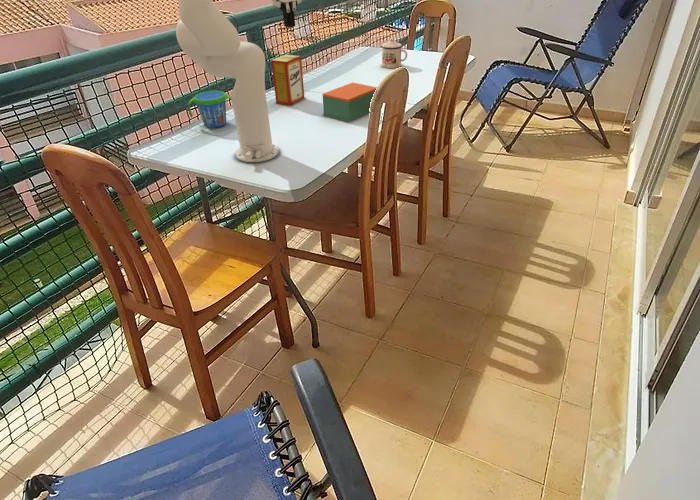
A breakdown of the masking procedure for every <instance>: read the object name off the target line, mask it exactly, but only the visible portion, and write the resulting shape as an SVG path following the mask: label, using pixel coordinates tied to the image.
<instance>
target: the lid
mask: <svg viewBox="0 0 700 500" xmlns="http://www.w3.org/2000/svg"><path fill="white" fill-rule="evenodd" d="M377 87H378V86H377ZM377 87H376V86H372V85H367V84H363V83H358V82H350V83H347V84H344V85H341V86H339V87H337V88H334V89H331V90H328V91H326V92H324V93H322V97H323V96H325V97H329V98H334V99H338V100H342V101H347V102H349V101H352V100H354V99H356V98H359V97H361V96H364V95H366V94H369V93H371V92H373V91H375V90H376V88H377ZM376 91H377V90H376Z"/></svg>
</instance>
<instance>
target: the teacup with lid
mask: <svg viewBox="0 0 700 500" xmlns="http://www.w3.org/2000/svg"><path fill="white" fill-rule="evenodd" d="M402 47H403V45H402V43H400V42H398V41H396V40H395V39H394V38H392V37H391V38H389V40H388V41H386V42H384V43H382V44H381V66H382V67H384V68H385V69H395V68H399V67H401V65H402V62H405V61H406V60H407V58H408V52H407V50H405V49H402ZM402 52H403V53H404V55H405V57H404V58H403V59H402Z"/></svg>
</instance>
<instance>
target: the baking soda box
mask: <svg viewBox="0 0 700 500" xmlns="http://www.w3.org/2000/svg"><path fill="white" fill-rule="evenodd" d="M270 63H271V69H272V78H273V88H274V96H275V103H276V104H279V105H285V106H292V105H294V104H296V103H299V102H300V101H302V100H304V99H305V89H304V87H305V86H304V77H303V76H304V75H303V63H302V56H301V55H295V54H283V55H281V56H278V57H276V58H273V59H271V62H270Z"/></svg>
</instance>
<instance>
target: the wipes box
mask: <svg viewBox="0 0 700 500" xmlns="http://www.w3.org/2000/svg"><path fill="white" fill-rule="evenodd" d="M374 92H375V91H373V92H371V93H369V94H366V95H364V96H361V97H359V98H356V99H354V100H352V101H349V102H347V101H342V100H338V99H334V98H329V97H325V96H323V95H322V106H323V107H322V108H323V116H325V117H329V118H333V119H336V120H341V121H344V122H348V123H350V122H352V121H354V120H356V119H359V118H361V117H363V116H365V115H367V114H369V113H370V112H369V108H370V102H371V99H372V97H373V94H374Z"/></svg>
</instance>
